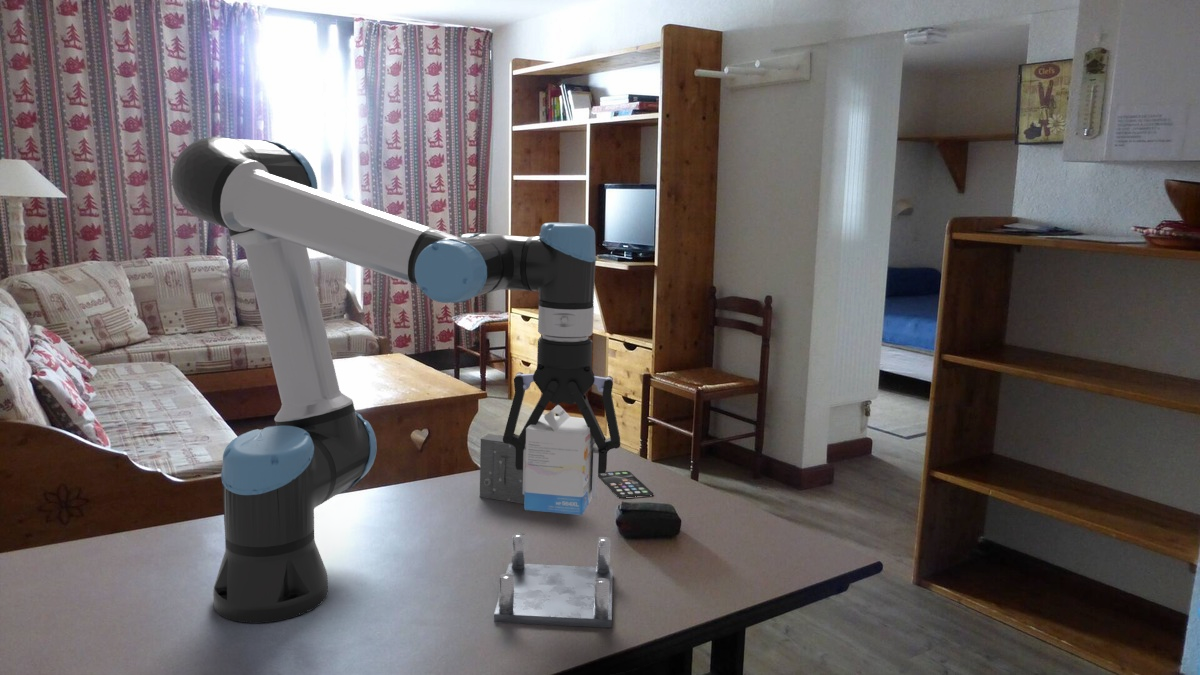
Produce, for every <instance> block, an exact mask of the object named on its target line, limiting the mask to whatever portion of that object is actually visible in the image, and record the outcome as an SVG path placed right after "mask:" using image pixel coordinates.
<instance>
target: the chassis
mask: <svg viewBox="0 0 1200 675" xmlns="http://www.w3.org/2000/svg"><path fill="white" fill-rule="evenodd" d="M611 543H612V540H611V538H610V537H607V536H599V537H597V544H596V545H597V546H596V547H597V548H596V566H578V565H559V564H558V565H555V564H540V563H539V564H537V563H536V564H535V563H525V562H526V558H525V557H526V534H524V533H523V532H514V533H513V534H511V562H509V563H508V565H507V569H506V571H505V572H506V573H501V574H500V575H499V578H498V579H499V580H498V581H499V582H498V584H499V585H498V599H497V603H496V606H495V610H494V613H493V623H503V624H504V623H507V624H525V625H526V624H527V625H547V626H563V627H564V626H566V627H567V626H569V627H586V628H606V629H607V628H610V629H611V628H612V620H613V619H612V617H613V616H612V615H613V576H614V575H613V573H614V568H613V567H611V566H610V565H611V564H610V563H611Z"/></svg>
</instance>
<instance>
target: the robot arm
mask: <svg viewBox="0 0 1200 675" xmlns="http://www.w3.org/2000/svg"><path fill="white" fill-rule="evenodd" d="M171 182H172V188H173V191H174V194H175V196H176V198H177V200H178V201H179V203H180V204H181V205H182V207H184V209H185V210H186V211H187V212H189V213H190V214H191V215H192V216H194V217H196V218H197V219H199V220H202V221H204V222H206V223H210V224H214V225H217V226H220V227H223V228H224V229H225V228H226V229H228V232H229V237H230V240H231V241H233V242H234V243H236V244H238V246H241V247H242V249H244V253H245V256H246V261H247V265H248V270H249V274H250V277H251V283H252V285H253V290H254V294H255V297H256V302H257V306H258V310H259V315H260V319H261V323H262V328H263V331H264V335H265V340H266V344H267V347H268V348H267V349H268V352H269V357H270V360H271V364H272V369H273V373H274V377H275V381H276V385H277V390H278V394H279V399H280V402H281V406H280V409H279V411H278V412H277V414H276V415H275V416H274V423H275V425H271V426H265V427H264V428H263V429H258V428H257V429H256V428H255V429H252V430H250V431H247V432H244V433H242V434H240V435H238V436H236V437H235V438H234V439H233V440H231V441H230V442H229V443H228V444H227V445H226V447H225V449H224V451H223V454H222V468H221V471H220V477H221V478H220V479H221V483H222V497H223V498H222V500H223V504H222V505H223V520H224V522H223V523H224V539H225V541H224V542H225V543H224V544H225V549H224V554H223V557H222V559H221V563H220V566H219V569H218V573H217V576H216V580H215V583H214V585H213V593H212V596H213V607H214V610H215V612H217V613H218V614H219V615H220V617H221V616H222V617H223V618H225V619H228V620H231V621H235V622H240V623H255V624H256V623H272V622H278V621H283V620H287V619H291V618H295V617H297V616H301V615H302V614H306V613H308V612H310V611H311V610H313V609H315V608H316V607H318V606H320V605H321V604H322V603H323V602H324V600H325V599H327V596H328V595H329V576H328V571H327V569H326V567H325V564H324V561H323V559H322V556H321V554H320V552H319V549H318V546H317V544H316V541H315V508H317V507H319V506H320V505H322V504H324V503H325V502H327V501H329V500H330V499H331V498H333V497H335V496H337V495H338V494H340V493H342V492H344V491H347V490H349V489H351V488H352V487H354V486H355V485H356V484H357V483H359V481H361V479H363V478H364V477H365V476H366V475H367V474H369V473H368V472H370V470H371V468H372V467H373V465H374V463H375V459H376V455H377V446H378V445H377V438H376V433H375V431H374V429H373V427H372V425H371V423H370V422H369V420H366V419H364V418H363V416H362V415H361V414H360V413H358V412H356V410H355V406H354V405H355V404H354V401H353V399H352V398H350V397H349V396H347V395H346V394H344V393H342V392H341V390H340V387H339V381H338V378H337V373H336V369H335V364H334V361H333V356H332V351H331V347H330V343H329V338H328V335H327V334H328V333H327V330H326V326H325V321H324V318H323V314H322V308H321V305H320V300H319V296H318V291H317V287H316V282H315V279H314V278H315V277H314V275H313V269H312V264H311V261H310V257H309V252H308V249H310V250H313V251H316V252H317V253H318V252H319V253H322V254H324V255H327V256H331V257H333V258H336V259H338V260H342V261H345V262H347V263H350V264H353V265H356V266H358V267H361V268H364V269H367V270H370V271H373V272H376V273H378V274H382V275H385V276H387V277H390V278H393V279H396V280H399V281H402V282H405V283H408V284H410V285H414V286H416V287H418V288H419V290H420V291H422V293H423V294H424V295H425V296H426V297H428V298H429V299H430V300H432V301H434V302H437V303H441V304H450V303H451V304H452V303H453V304H458V303H459V304H460V303H463V302H466V301H469V300H471V299H473V298H476V297H480V296H482V295H485V294H490V293H493V292H496V291H500V290H508V291H523V292H524V291H527V292H538V318H537V320H538V321H537V322H538V323H537V332H538V333H539V334H540V335H541V336H540V337H539V338H538V339H537V357H536V358H537V359H536V360H537V361H536V364H537V365H536V369H535V371H534V372H533V373H523V372H521V371H519V372H517V373H516V375H515V376H514V377H513V385H514V396H513V398H512V402H511V406H510V410H509V414H508V418H507V422H506V425H505V430H504V433H503V435H502V436H503V442H504V443H505V444H511V445H513V446H514V447H515V449H516V463H515V466H516V469H517V470H523V494H524V492H525V453H526V445H525V444H526V428H527V427H528V426H529V425H536V424H537V422H538V420H539V419H540V417H541V415H542V414H543V413H544V411H545V410H546V408H547V406H548V405H549V403H551V404H554V405H556V404H558V403H559V404H562V403H563V404H567V405H575V404H576V406H577V408H578V410H579V411H580V414H581V415H582V418H584V420H585V422H586V424H587V426H588V427H590V432H591V434H592V437H593V439H594V441H595V443H596V447H594V451H593V475H592V499H593V498H594V499H595V498H598V489H599V487H598V486H599V485H598V484H599V477H598V473H605V472H607V464H608V461H607V460H608V452H609V451H610V450H614V449H615V450H616V449H619V448H620V447H621V435H620V431H619V425H618V420H617V415H616V408H615V405H614V400H613V395H612V392H613V387H614V378H613V377H612V376H611V375H607V376H606V377H605V376H598V375H597V376H596V375H595V374H594V372H593V368H592V365H593V364H592V361H593V358H592V357H593V340H592V339H591V338H590V336H592V335H593V333H594V313H595V312H594V311H595V310H594V308H595V305H594V301H595V300H594V299H595V298H594V297H595V296H594V295H595V282H596V281H595V280H596V279H595V278H596V264H597V263H596V262H597V255H596V231H595V229H594V227H592V226H591V225H589V224H586V223H578V222H577V223H576V222H575V223H573V222H545V223H542V225H541V226H540V232H539V234H538V235H536V236H532V235H530V236H525V235H524V236H523V235H510V234H499V233H497V234H495V233H490V232H476V233H468V232H467V233H464V234H461V235H460V236H457V235H454V234H451V233H448V232H445V231H442V230H438V229H435V228H433V227H431V226H427V225H424V224H420V223H418V222H415V221H412V220H410V219H406V218H403V217H400V216H397V215H394V214H392V213H388V212H385V211H382V210H378V209H376V208H373V207H370V206H368V205H364V204H361V203H359V202H355V201H352V200H349V199H346V198H343V197H341V196H337V195H334V194H332V193H328V192H325V191H322V190H319V189H318V181H317V176H316V173H315V170H314V168H313V167H312V165H311V163H310V162H309V160H308V159H307V158H306V157H305V156H304V155H303V153H301V152H299V151H298V150H297V149H295V148H293V147H292V146H290V145H287V144H284V143H279V142H276V141H272V140H269V139H268V140H266V139H261V140H255V139H242V138H240V139H239V138H231V137H230V138H228V137H224V136H211V137H206V138H201V139H198V140H196V141H194V142H191V143H190V144H189V145H188V146H186V147H185V148H184V149H183V150H181V151H180V153H179V155H178V157H177V158H176V159H175V162H174V163H173V167H172V172H171ZM532 383H535V385H536V387H537V389H539V391H540V392H541V395H540V398H539V400H538V401H537V403H536V405H535V407H534V409H533V411H532V412H531V413H530V415H529V417H528V419H527V421H526V423H525V424H524V427H523V428H522V430H521V432H520V434H516V433H515V431H516V428H517V423H518V419H519V415H520V412H521V408H522V405H523V402H524V397H525V392H526V391H527V390H529V389H530V386H531V384H532ZM594 385H595V386H596V389H597V392H598V393H599V394H602V404H603V409H604V412H605V418H606V422H607V428H608V432H609V433H608V434H609V437H608V438H606V436H605V434H604V431H603V430H602V428H601V426H600V423H599V422H598V419H597V418H596V415H595V414H594V411H593V409H592V407H591V404H590V403H589V399H588V397H587V395H586V394H587V392H588V391H589V390H590V389H591V388H592V386H594Z"/></svg>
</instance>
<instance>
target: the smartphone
mask: <svg viewBox="0 0 1200 675" xmlns="http://www.w3.org/2000/svg"><path fill="white" fill-rule="evenodd" d="M598 479H600V480H601V482H603V484H604V485H605V486H606V485H607V486H608V487H609V488H610V489H611V490H612V491H613V492H614V493H615V494H616V495H617V496H616V495H615V494H614V493H613V492H612V491H611V490H610V489H609V490H610V491H611V492H612V493H613V494H614V495H615V496H616V498H618V497H619V498H618V499H620V498H626V497H635V496H636V497H637V496H650V495H653V494H654V492H652V491H651V490H650V489H649V488H648V487H647V486H646V485H645V484H644V483H643V482H642V481H640V479H638V478H637V477H636V476H635V475H634V474H633V473H632V472H631V471H628V470H617V471H616V470H615V471H606V472H605V473H598ZM607 486H606V487H607ZM608 487H607V488H608ZM653 496H654V495H653Z"/></svg>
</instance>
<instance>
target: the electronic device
mask: <svg viewBox="0 0 1200 675" xmlns="http://www.w3.org/2000/svg"><path fill="white" fill-rule="evenodd" d="M557 405H559V406H560V403H558V404H555V407H556V406H557ZM555 416H559V415H558V414H555ZM503 436H504V435H500V434H492V433H488V434H486V435H484V436H483V437H482V438H480V450H479V451H480V453H479V454H480V461H479V462H480V463H479V466H480V467H479V497H480V498H487V499H491V500H492V499H493V500H499V501H503V502H512V503H515V504H516V503H517V504H523V505H524V494H523V470H517V469H516V466H515V463H516V449H515V447H514V446H513V445H511V444H505V443H504V442H503ZM525 445H526V444H525Z"/></svg>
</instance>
